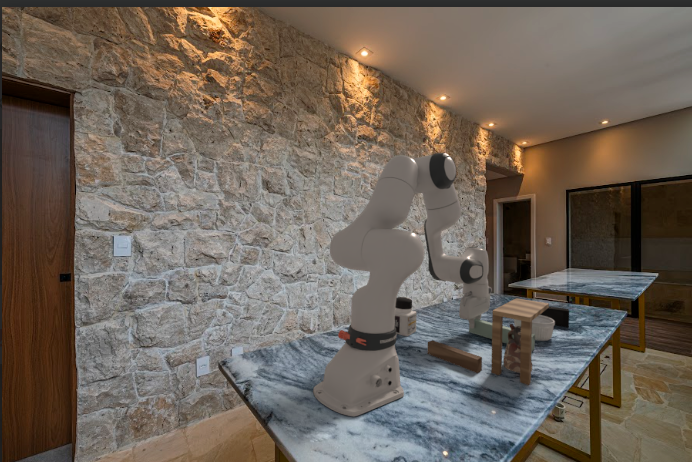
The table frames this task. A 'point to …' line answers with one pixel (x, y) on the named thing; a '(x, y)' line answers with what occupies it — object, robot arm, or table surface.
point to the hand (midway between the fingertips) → (474, 326)
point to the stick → (455, 356)
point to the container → (404, 316)
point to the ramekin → (540, 327)
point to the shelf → (526, 314)
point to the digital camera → (557, 315)
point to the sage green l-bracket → (486, 331)
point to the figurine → (513, 350)
